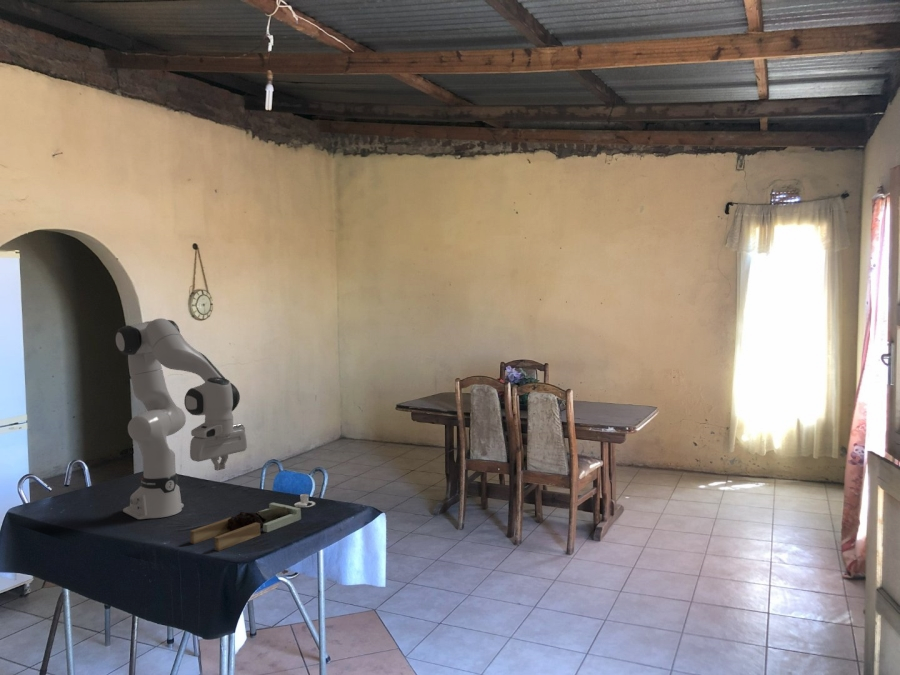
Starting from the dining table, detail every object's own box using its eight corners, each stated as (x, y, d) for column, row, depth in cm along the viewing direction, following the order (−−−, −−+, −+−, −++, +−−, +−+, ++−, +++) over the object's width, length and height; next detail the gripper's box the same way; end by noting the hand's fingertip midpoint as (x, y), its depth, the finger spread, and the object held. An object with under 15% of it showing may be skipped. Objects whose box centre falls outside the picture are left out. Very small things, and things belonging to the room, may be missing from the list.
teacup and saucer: (303, 510, 261) (303, 499, 260) (288, 507, 265) (288, 496, 265) (319, 504, 268) (319, 494, 268) (304, 501, 272) (304, 491, 272)
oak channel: (190, 542, 226) (190, 530, 226) (232, 527, 240) (232, 516, 240) (219, 550, 218) (218, 538, 218) (260, 535, 233) (260, 523, 232)
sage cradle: (239, 525, 243) (238, 514, 242) (273, 513, 256) (273, 502, 256) (267, 532, 235) (266, 520, 235) (301, 519, 249) (300, 508, 248)
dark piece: (280, 518, 251) (280, 500, 250) (291, 524, 245) (291, 505, 244) (225, 532, 237) (225, 512, 236) (235, 538, 231) (235, 518, 230)
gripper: (237, 421, 236) (238, 461, 237) (186, 431, 219) (187, 474, 220) (250, 423, 233) (251, 464, 234) (199, 433, 216) (200, 477, 217)
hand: (219, 469), depth 227 cm, fingers closed
